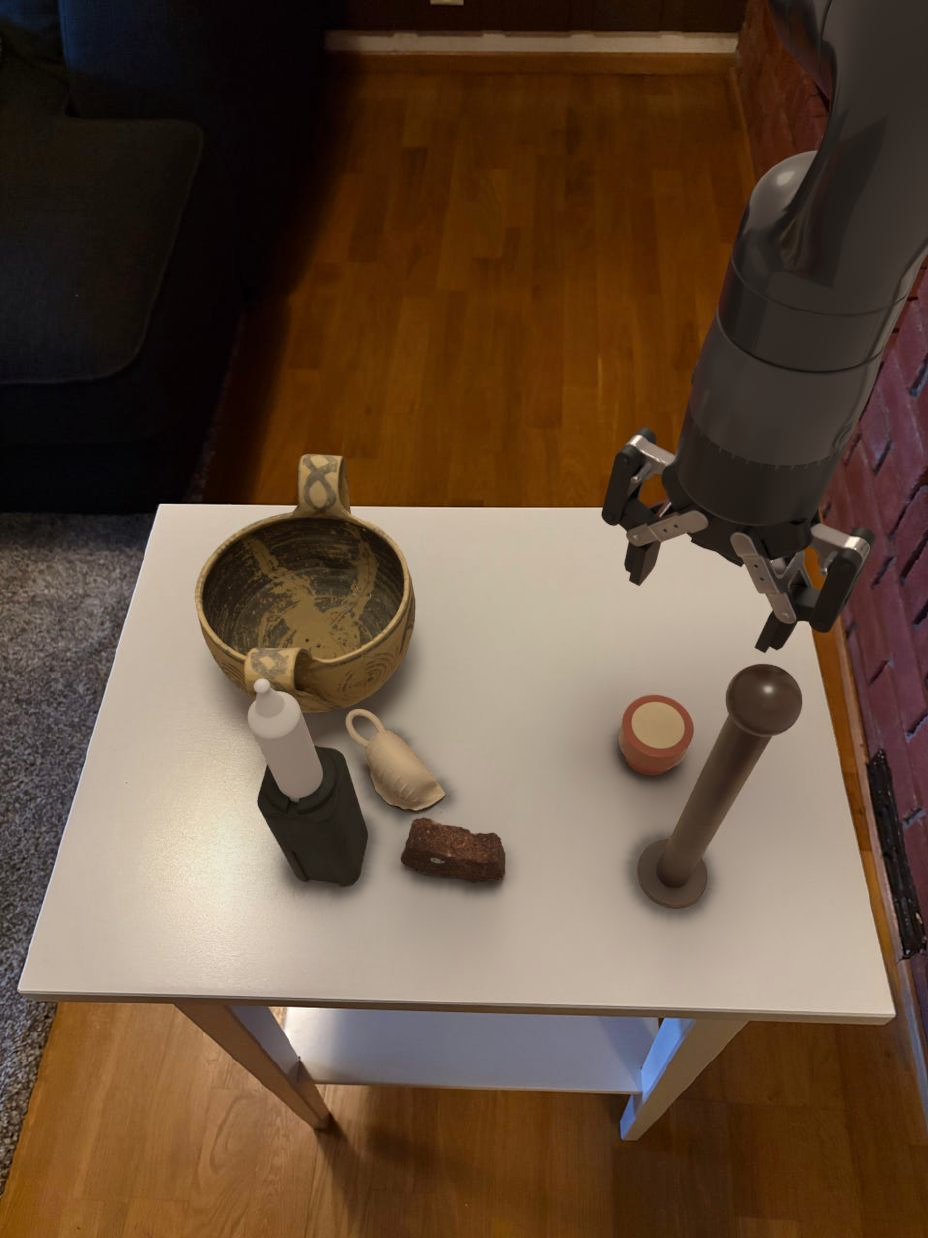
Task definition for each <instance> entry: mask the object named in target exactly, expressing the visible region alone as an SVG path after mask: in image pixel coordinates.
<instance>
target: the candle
mask: <svg viewBox="0 0 928 1238" xmlns="http://www.w3.org/2000/svg"><path fill="white" fill-rule="evenodd" d="M254 690H255V691H256V692H257V696H256V700H254V701H253V702H252V704H251V705H250V707H249V708H248V713H247V724H248V726H249V728H250V731H251V732H252V735H253V736H254V739H255V741H256V743H257V745H258V747H259V749H260V752H261V754H262V755H263V758H264V759H265V762H266V768H265V771H264V774H263V777H262V780H261V784H260V788H259V790H258V793H257V799H256V804H257V807H258V810H259V811H260V813H261V815H262V817H263V819H264V821H265V822H266V824H267V827H268V828H269V830H270V832H271V834H272V835H273V837H274V839H275V841H276V842H277V844H278V846H279V848H280V850H281V852H282V854H283V855H284V857H285V859H286V861H287V862H288V864H289V867H290V868H291V870H292V873H294V875H295V877H296V878H297V879H298V880H300V881H301V882H304V883H308V882H309V881H315V882H321V883H322V882H323V883H329V884H330V883H331V884H337V885H338V886H339V887H342V888H346V887H350V886H352V885H353V884H355V883H356V882H357V881H358V879H359V878H360V876H361V872H362V867H363V862H364V858H365V852H366V850H367V849H366V848H367V844H368V838H369V832H368V829H367V825H366V822H365V818H364V815H363V811H362V808H361V806H360V802H359V798H358V796H357V793H356V788H355V786H354V782H353V780H352V779H353V778H352V776H351V772H350V769H349V766H348V762H347V760H346V758H345V755H344V754H343V752H341V751H340V750H339V749H336V748H332V747H326V746H318V745H315V744H314V742H313V739H312V736H311V734H310V731H309V728H308V726H307V723H306V720H305V717H304V715H303V712H301V709H300V706H299V704H298V702H297V701H296V700H295V699H294V698H293V697H292V696H291V695H289V694H287V693H285V692H281V691H275V690H273V689H272V688H271V687H270V683H269V681H268V680H266V679H258V680H257V681H256V682H255V684H254Z"/></svg>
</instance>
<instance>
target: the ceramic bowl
mask: <svg viewBox="0 0 928 1238" xmlns="http://www.w3.org/2000/svg"><path fill="white" fill-rule="evenodd" d="M297 468H298V469H297V505H296V507H294V509H293V510H292V511H290V512H284V513H279V514H276V515H272V516H269V517H266V518H263V519H260V520H258V521H255V522H252V523H251V524H249V525H246V526H244V527H242V528H241V529H239V530H238V531H237V532H234V533H233V534H231V535H230V536H229V537H228V538H226V539H224V541H223V542H222V543H221V544H220V545H219V546H218V547H217V548H216V549H215V550H214V551H213V552H212V554H211V555H210V556H209V558H208V559H206V562H205V563H204V565H203V566H202V568H201V570H200V572H199V575H198V577H197V580H196V584H195V588H194V604H195V609H196V612H197V618H198V621H199V625H200V630H201V634H202V636H203V639H204V641H205V643H206V646H207V647H208V650H209V652H210V654H211V656H212V658H213V660H214V662H215V663H216V664H217V666H218V667H219V668H220V670H221V672H222V673H223V674H224V675H225V677H226V678H228V680H230V682H231V683H232V684H233V685H234V686H235V687H236V688H238V689H239V690H240V691H241V692H243V693H244V694H245V695H247V696H248V697H250V698H251V699H253V700H254V701H255V700H256V696H257V692H256V691H255V690H254V684H255V682H256V681H257V680H258V679H266V680H268V681H269V683H270V687H271V688H272V689H273V690H275V691H281V692H285V693H287V694H289V695H291V696H292V697H293V698H294V699H295V700H296V701H297V702H298V704H299V706H300V709H301V712H302V713H327V712H333V711H338V710H341V709H346V708H349V707H351V706H354V705H356V704H358V703H360V702H362V701H363V700H366V699H367V698H368V697H370V696H372V695H373V694H374V693H376V692H377V691H378V690H379V689H381V688H382V686H383V685H384V684H385V683H386V682H387V681H388V680H389V679H390V678H391V677H392V676H393V675H394V673H395V672H396V670H397V669H398V667H399V666H400V665H401V663H402V661H403V659H404V658H405V656H406V655H407V651H408V648H409V645H410V642H411V640H412V636H413V632H414V628H415V621H416V596H415V590H414V585H413V578H412V576H411V573H410V570H409V567H408V564H407V559H406V558H405V557H406V556H405V555H404V553H403V551H402V550H401V548H400V547H399V545H398V544H397V543H396V541H395V540H394V539H392V538H393V537H392V538H391V536H390V535H389V534H387V532H386V531H384V530H383V529H382V528H380V527H379V526H377V525H376V524H373V523H372V522H370V521H367V520H364V519H361V518H359V517H357V516H355V515H353V514H352V511H351V502H350V501H351V500H350V491H349V481H348V472H347V471H348V470H347V463H346V459H345V457H343V455H331V454H319V453H318V454H317V453H306V454H304V455H302V456H300V457H299V460H298V467H297Z"/></svg>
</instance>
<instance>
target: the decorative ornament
mask: <svg viewBox="0 0 928 1238" xmlns="http://www.w3.org/2000/svg"><path fill="white" fill-rule="evenodd" d="M356 716H361V717H364V718H366V719H368V720H369V721H370V722H372V724H373V725H374V727H375V728H376V729H377V732H376V733H375V734H373V735H372V736H371V738H370V739H366V738H364V737H363V736H362V735H360V734H359V733H358V732H357V730H356V729H355V728H354V725H353V719H354V717H356ZM345 727H346V730H347V733H348V735H350V737H351V738H352V739H353V740H354V741H355V742H356V743H357V744H358V745H360V746H362V747H364V748H365V750H364V752H365V760H366V763H367V765H368V767H369V770H370V775H369V776H370V779H371V781H372V783H373V787H374V790H375V792H376V793H377V794H378V795H380V796H381V797H382V799H383V800H384V802H386V803H387V804H389V805H391V806H397V807H399V808H401V809H402V810H409V809H411V810H413V811H420V810H423V809H427V808H429V807H431V806H434V805H435V804H437V802H439V801H440V800H442V799H443V798H444V797H445V796H446V793H445V791H444V790H443V788H442V787H441V785H440V784H439V781H437V779H436V777H435V776H434V774H433V773H432V772H431V770H430V769H429V768H428V767H427V766H426V764H425V763H424V762H423V761H422V760H421V759H420V758H419V756H418V755H417V754H416V753H415V752H414V751H413V750H412V749H411V748H410V746H408V744H407V743H406V742H405V741H404V740H403V739H402V738H401V737H400V736H398V735H397V734H396V733H394V732H393V731H390V730H388V729H385V727H384V724H383V723H382V721H381V720H380V719H379V717H378V716H376V715H375V714H374V713H372V712H371V711H370V710H367V709H363V708H354V709H352V710H350V711H349V712H348V713H347V715H346V717H345Z"/></svg>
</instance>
